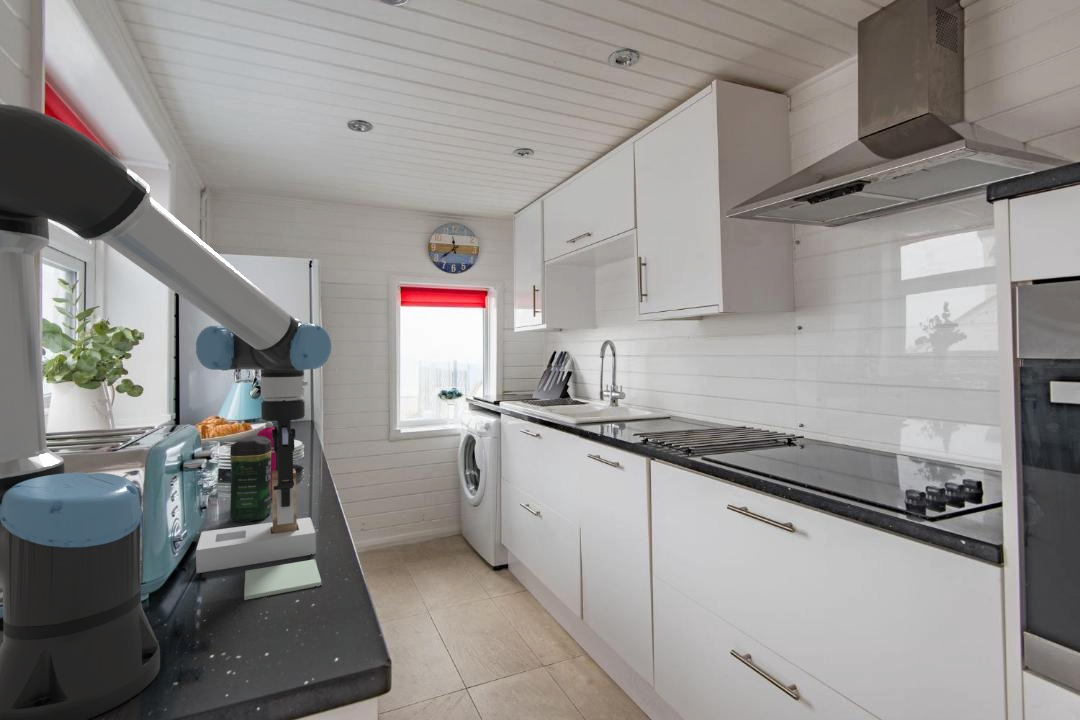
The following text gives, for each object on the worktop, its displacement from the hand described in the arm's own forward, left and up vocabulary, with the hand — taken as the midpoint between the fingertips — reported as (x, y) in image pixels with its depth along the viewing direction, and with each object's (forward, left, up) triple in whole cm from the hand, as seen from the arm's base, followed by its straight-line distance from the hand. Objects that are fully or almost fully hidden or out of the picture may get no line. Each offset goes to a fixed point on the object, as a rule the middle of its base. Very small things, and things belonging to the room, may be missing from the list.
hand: (284, 516), depth 104 cm
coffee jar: (+10, +25, -6) cm, 28 cm away
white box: (-4, +2, -6) cm, 8 cm away
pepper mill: (+23, +37, -6) cm, 45 cm away
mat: (-10, -12, -6) cm, 17 cm away
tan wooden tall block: (0, 0, -6) cm, 6 cm away
